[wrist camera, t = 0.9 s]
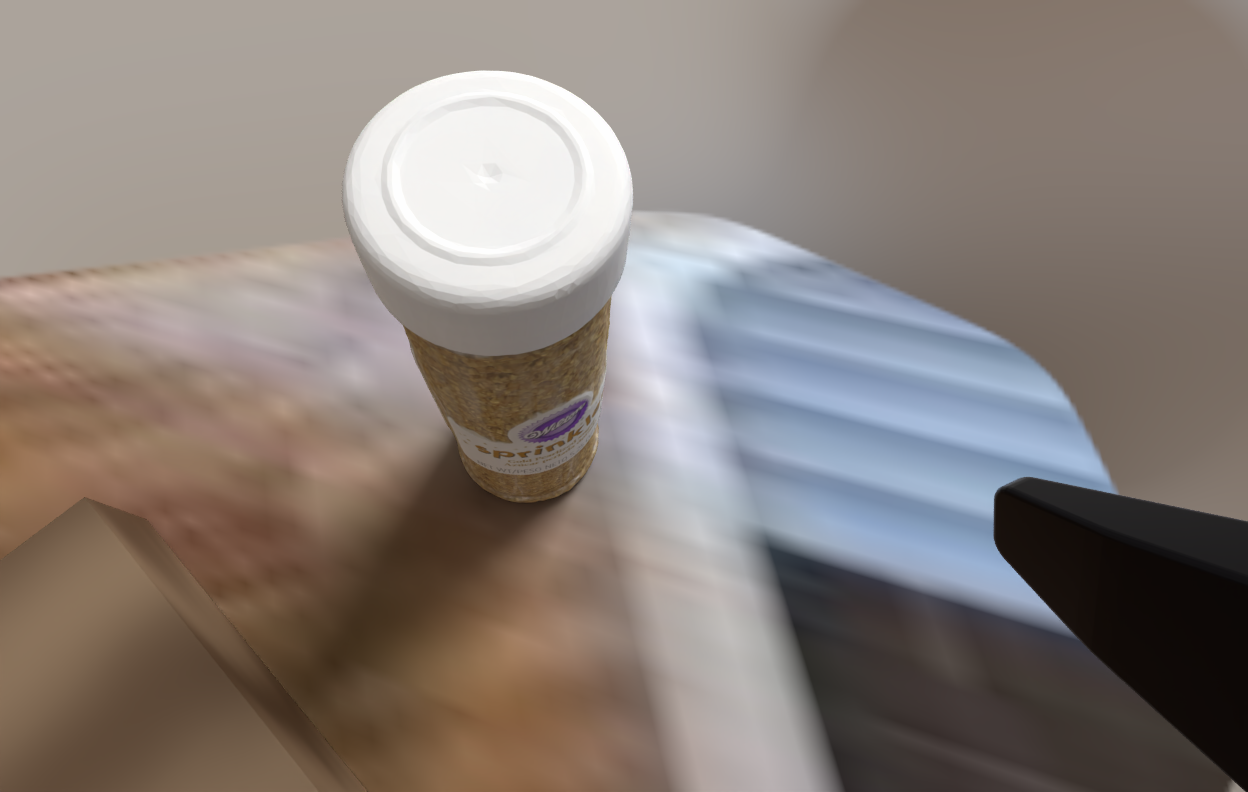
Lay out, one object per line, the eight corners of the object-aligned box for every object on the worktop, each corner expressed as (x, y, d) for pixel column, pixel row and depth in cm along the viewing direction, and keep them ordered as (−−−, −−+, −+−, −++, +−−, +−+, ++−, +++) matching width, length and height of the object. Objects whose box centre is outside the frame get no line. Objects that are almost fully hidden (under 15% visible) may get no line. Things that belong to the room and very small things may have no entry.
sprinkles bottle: (524, 535, 23) (471, 367, 10) (428, 433, 23) (268, 162, 11) (629, 437, 24) (697, 181, 11) (534, 345, 25) (500, 13, 12)
